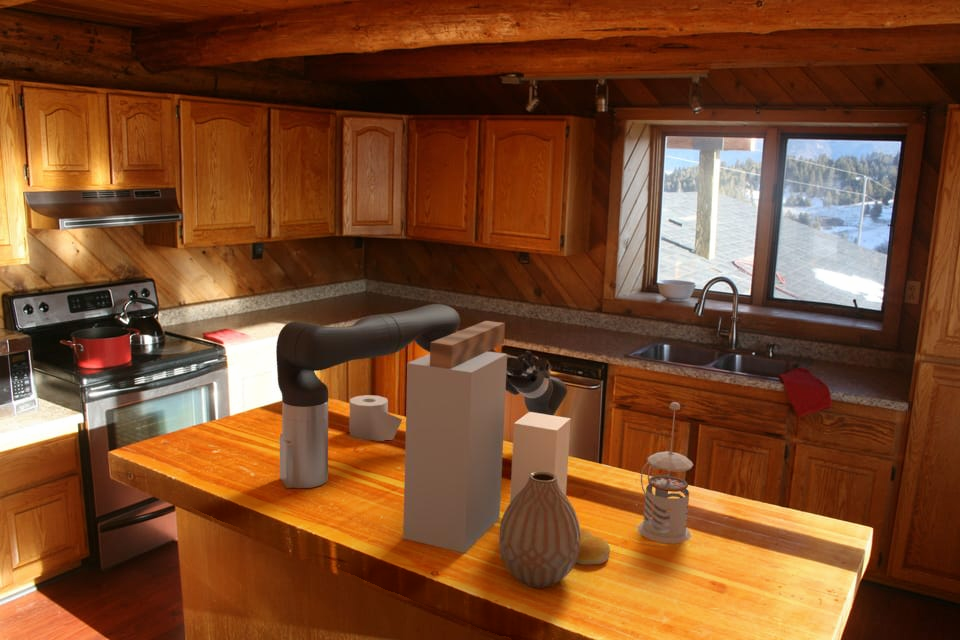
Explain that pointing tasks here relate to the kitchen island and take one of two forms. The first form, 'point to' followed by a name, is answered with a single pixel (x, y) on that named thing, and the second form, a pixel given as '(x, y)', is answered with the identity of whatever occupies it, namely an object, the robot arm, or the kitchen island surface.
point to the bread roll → (592, 549)
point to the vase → (540, 533)
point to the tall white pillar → (453, 450)
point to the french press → (666, 497)
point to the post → (539, 449)
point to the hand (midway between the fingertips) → (506, 352)
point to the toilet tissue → (372, 419)
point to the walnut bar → (466, 344)
